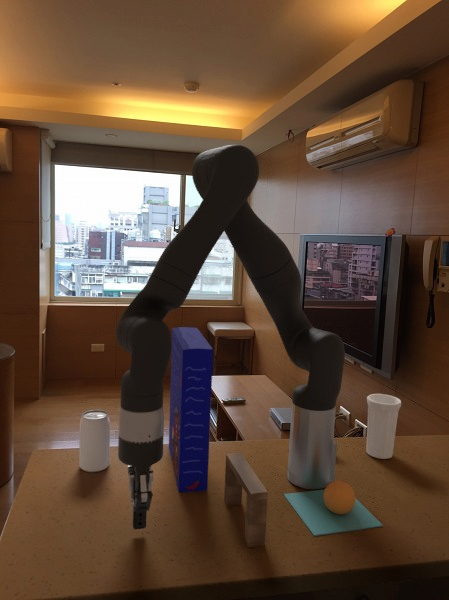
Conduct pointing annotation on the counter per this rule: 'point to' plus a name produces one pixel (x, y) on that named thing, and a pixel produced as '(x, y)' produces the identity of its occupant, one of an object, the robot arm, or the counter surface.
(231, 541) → the counter surface
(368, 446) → the cup
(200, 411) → the cereal box
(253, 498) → the bridge
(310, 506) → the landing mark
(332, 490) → the ball
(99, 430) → the can
